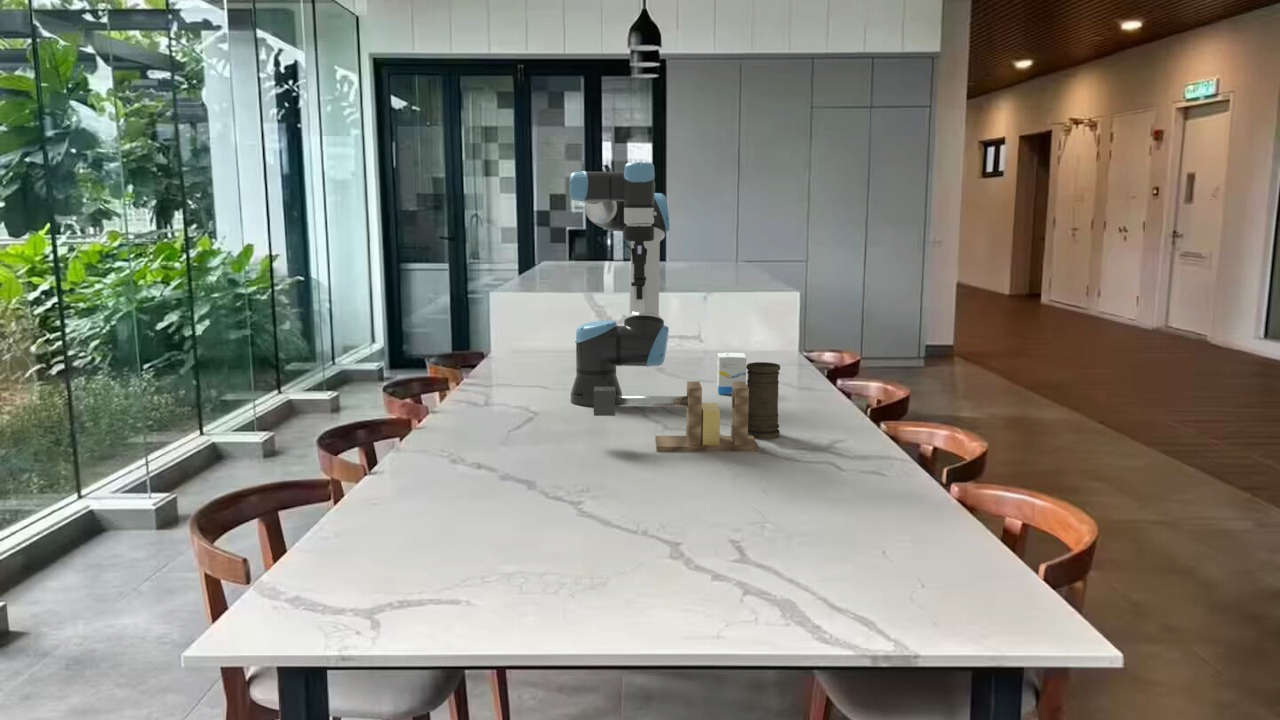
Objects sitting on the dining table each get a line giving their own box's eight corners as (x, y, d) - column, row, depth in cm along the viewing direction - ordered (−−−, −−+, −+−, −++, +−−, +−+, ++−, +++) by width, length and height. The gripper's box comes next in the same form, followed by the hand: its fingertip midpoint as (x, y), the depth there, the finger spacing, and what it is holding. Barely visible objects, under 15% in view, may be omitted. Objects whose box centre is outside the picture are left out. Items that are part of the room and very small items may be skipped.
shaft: (593, 415, 218) (593, 390, 217) (594, 410, 223) (594, 386, 222) (697, 415, 218) (697, 391, 217) (695, 411, 223) (696, 386, 222)
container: (778, 440, 227) (781, 368, 224) (742, 438, 229) (743, 367, 226) (780, 431, 236) (782, 362, 233) (745, 429, 238) (747, 360, 235)
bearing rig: (656, 451, 217) (657, 389, 214) (655, 440, 227) (655, 380, 224) (758, 451, 217) (760, 389, 215) (752, 440, 227) (754, 380, 224)
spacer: (702, 445, 218) (703, 410, 216) (699, 436, 226) (700, 403, 224) (719, 445, 218) (720, 410, 216) (716, 436, 226) (716, 403, 224)
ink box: (746, 395, 279) (747, 357, 277) (718, 394, 280) (718, 356, 278) (743, 389, 288) (744, 352, 286) (716, 389, 288) (717, 352, 286)
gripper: (655, 226, 220) (654, 315, 223) (652, 223, 244) (652, 303, 248) (624, 226, 220) (624, 315, 223) (624, 223, 244) (624, 303, 248)
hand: (638, 309), depth 236 cm, fingers open, 13 cm apart
